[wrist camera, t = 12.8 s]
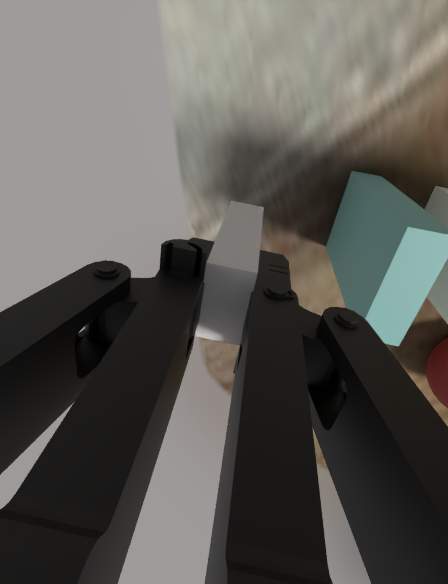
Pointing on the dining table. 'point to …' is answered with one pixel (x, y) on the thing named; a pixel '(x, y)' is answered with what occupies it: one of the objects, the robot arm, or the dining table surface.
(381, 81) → the dining table surface
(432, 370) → the fruit
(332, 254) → the domino
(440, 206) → the domino
